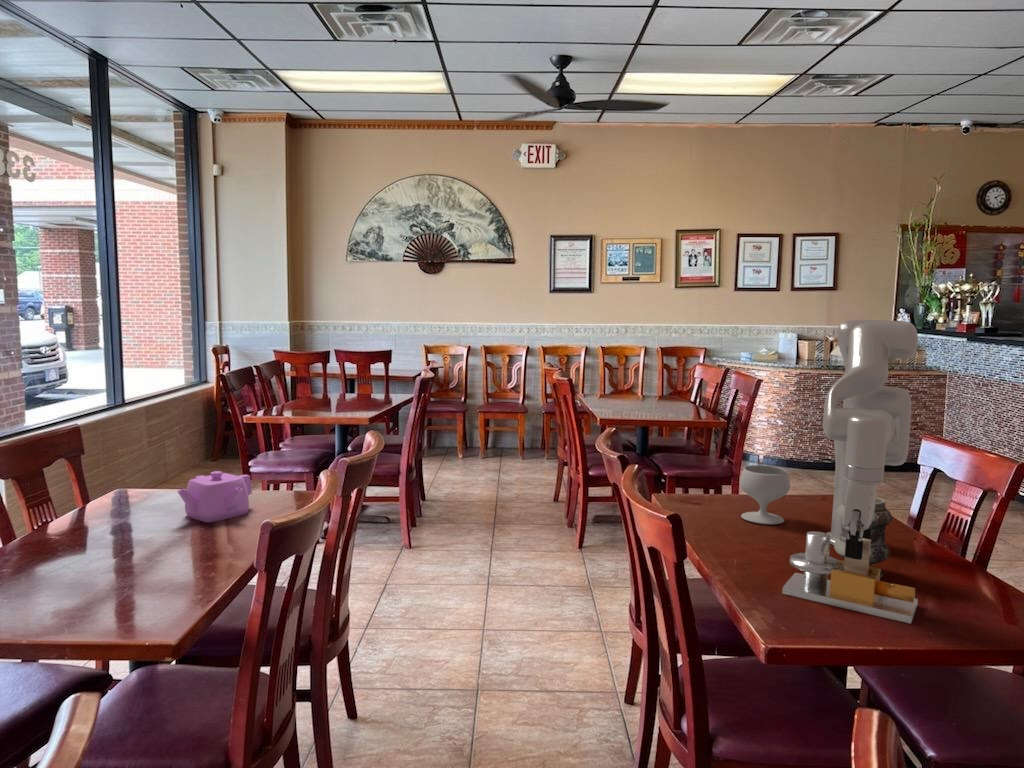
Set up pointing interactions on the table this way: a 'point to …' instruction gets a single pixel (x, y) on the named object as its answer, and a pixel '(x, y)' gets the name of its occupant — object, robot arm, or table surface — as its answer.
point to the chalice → (764, 490)
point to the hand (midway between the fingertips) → (857, 551)
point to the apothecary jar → (878, 546)
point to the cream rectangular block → (856, 564)
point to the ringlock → (846, 584)
